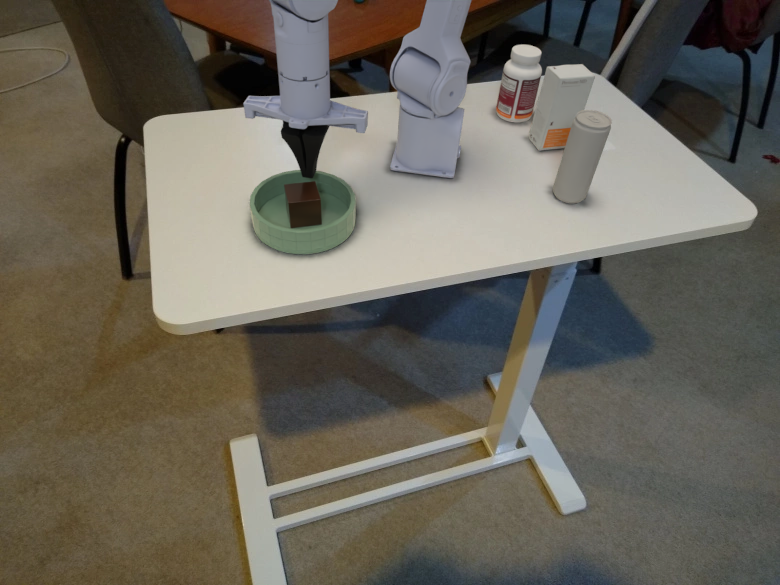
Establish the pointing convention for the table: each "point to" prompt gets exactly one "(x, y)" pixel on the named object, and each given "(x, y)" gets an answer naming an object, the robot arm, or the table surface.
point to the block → (303, 204)
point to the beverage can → (581, 155)
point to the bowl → (309, 239)
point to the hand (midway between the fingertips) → (309, 173)
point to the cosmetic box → (559, 104)
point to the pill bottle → (519, 84)
